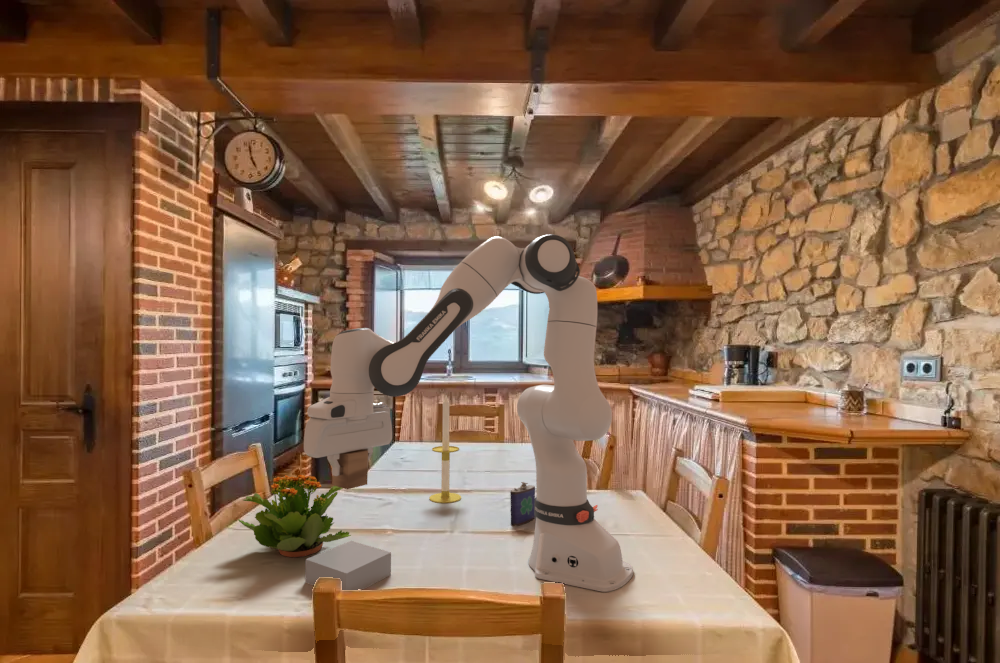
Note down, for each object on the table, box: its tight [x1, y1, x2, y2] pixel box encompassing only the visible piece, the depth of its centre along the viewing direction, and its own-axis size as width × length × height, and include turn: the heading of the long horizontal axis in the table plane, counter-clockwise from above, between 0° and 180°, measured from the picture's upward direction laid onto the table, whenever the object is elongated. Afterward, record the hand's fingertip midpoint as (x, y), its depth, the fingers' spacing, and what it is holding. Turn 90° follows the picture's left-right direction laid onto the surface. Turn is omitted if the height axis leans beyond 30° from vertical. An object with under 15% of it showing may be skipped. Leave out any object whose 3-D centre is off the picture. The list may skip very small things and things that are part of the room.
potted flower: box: [237, 474, 352, 558], centre depth 125 cm, size 25×24×18 cm
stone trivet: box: [304, 540, 392, 590], centre depth 110 cm, size 12×12×5 cm
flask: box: [509, 481, 536, 527], centre depth 146 cm, size 9×3×11 cm, turn 138°
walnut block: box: [331, 449, 369, 490], centre depth 112 cm, size 5×5×7 cm
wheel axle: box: [429, 394, 462, 504], centre depth 167 cm, size 10×10×32 cm
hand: (350, 472), depth 112 cm, fingers closed on walnut block, 5 cm apart
